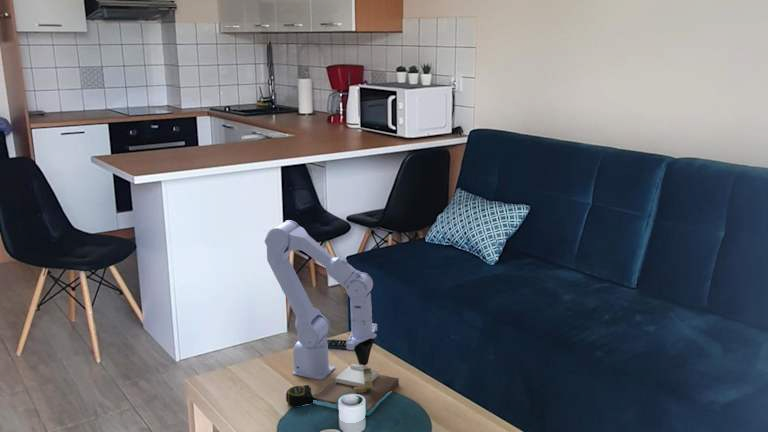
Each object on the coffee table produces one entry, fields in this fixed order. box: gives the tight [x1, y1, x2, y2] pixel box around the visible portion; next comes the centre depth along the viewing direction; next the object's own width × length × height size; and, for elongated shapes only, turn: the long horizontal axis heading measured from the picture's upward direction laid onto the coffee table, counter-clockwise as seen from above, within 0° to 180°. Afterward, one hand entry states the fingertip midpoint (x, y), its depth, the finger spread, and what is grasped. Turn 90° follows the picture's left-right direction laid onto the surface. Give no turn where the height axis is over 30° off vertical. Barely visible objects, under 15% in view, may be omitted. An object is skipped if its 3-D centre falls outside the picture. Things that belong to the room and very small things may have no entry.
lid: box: [334, 363, 380, 387], centre depth 190 cm, size 9×8×2 cm
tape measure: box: [285, 384, 314, 408], centre depth 182 cm, size 7×7×4 cm
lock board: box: [313, 374, 400, 412], centre depth 186 cm, size 16×18×2 cm
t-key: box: [354, 367, 373, 393], centre depth 182 cm, size 5×7×5 cm, turn 4°
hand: (363, 363), depth 195 cm, fingers closed
